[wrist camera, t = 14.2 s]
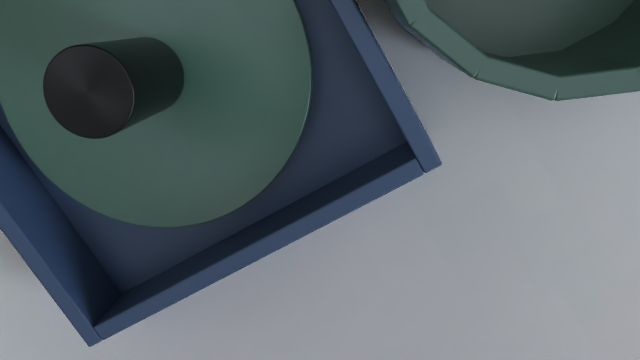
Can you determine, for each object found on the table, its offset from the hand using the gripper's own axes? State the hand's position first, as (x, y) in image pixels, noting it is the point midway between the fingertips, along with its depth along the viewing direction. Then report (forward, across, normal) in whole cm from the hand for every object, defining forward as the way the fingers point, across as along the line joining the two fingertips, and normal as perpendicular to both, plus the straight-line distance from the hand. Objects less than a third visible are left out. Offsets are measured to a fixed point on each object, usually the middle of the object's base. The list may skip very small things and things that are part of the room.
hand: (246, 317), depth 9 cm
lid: (+11, +6, +2) cm, 13 cm away
